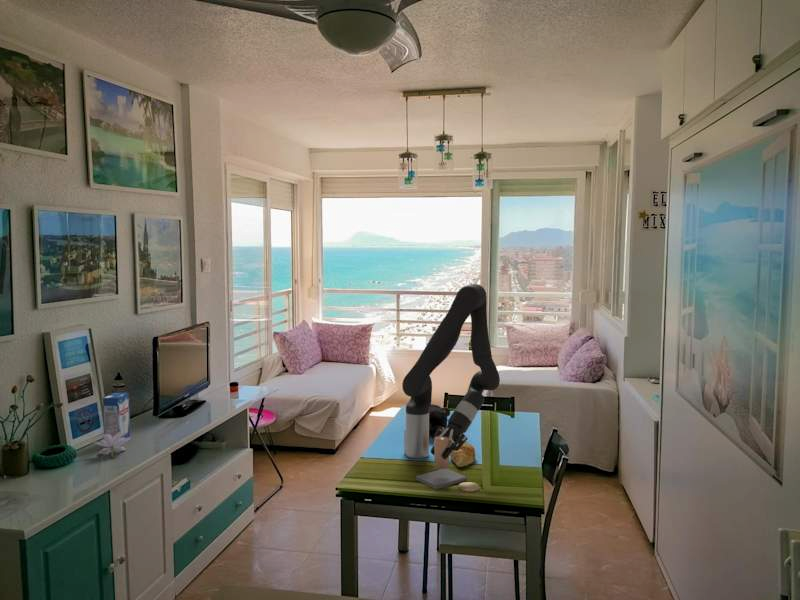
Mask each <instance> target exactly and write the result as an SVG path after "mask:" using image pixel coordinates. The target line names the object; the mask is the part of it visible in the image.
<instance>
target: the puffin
mask: <svg viewBox="0 0 800 600" xmlns="http://www.w3.org/2000/svg"><path fill="white" fill-rule="evenodd" d="M450 416H451V411H450V409H449V407H447V406H446V407H441V406H439V405H437V404H432V403H431V405H430V408H429V440H431V439H432V440H433V437H434V435H435V433H436V431H437V429H438V427H439V426H441V427H442V428H445V427H446V426H447V425H448V419H449V418H448V417H450Z"/></svg>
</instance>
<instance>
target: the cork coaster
mask: <svg viewBox="0 0 800 600" xmlns="http://www.w3.org/2000/svg"><path fill="white" fill-rule="evenodd" d="M458 489H459V490H461V491H463V492H468V493H469V492H473V493H474V492H476V491H479V490H480V484H478V483H476V482H472V481H469V482H468V481H466V482H465V481H462V482H459V483H458Z"/></svg>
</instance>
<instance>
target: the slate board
mask: <svg viewBox="0 0 800 600" xmlns="http://www.w3.org/2000/svg"><path fill="white" fill-rule="evenodd" d="M415 480H416V481H418V482H420V483H422V484H424V485H426V486H428V487H430V488H433V489H435V490H438V489H441V488H444V487H445V488H446V487H448V486H451V485H455V484H460V483H463V482H465V481H466V482H467V476H465V475H464V474H461V473H458V472H456V471H454V470H451V469H450V468H446V469H437V470H434V471H430V472H426V473H421V474H419V475H415Z"/></svg>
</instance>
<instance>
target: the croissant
mask: <svg viewBox="0 0 800 600" xmlns="http://www.w3.org/2000/svg"><path fill="white" fill-rule="evenodd" d="M458 444H459V443H458ZM458 444H457V445H456V446H458ZM449 457H450V459H451V460H452V462H454V465H456V466H457V467H458V468H463V467H466V466H469V465H471V464H472V463H474V462H475V461H476V450H475V447H474V446H473V445H472V444H471V443H468V441H466V442H465V443H464V444H463V445H462V446H461V447H460V448H459V450H458V451H456V450H454V451H452V452H451V453H450V455H449Z"/></svg>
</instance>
